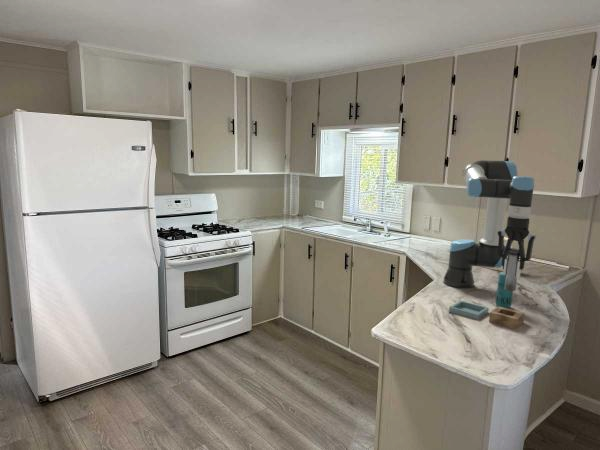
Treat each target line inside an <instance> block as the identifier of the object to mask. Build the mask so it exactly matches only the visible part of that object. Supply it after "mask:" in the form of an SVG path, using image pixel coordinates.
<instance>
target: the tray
mask: <svg viewBox="0 0 600 450" xmlns="http://www.w3.org/2000/svg"><path fill="white" fill-rule="evenodd" d="M489 311H490V310H489V307H487V306H483V305H481V304H476V303H471V302H468V301H464V300H459V301H457V302H456V303H454V304H452V305H451V306H449V309H448V314H452V313H453V314H454V315H455V314H456V315H460V316H462V317H466V318H471V319H474V320H480V319H481V318H482V317H483V316H485V315H487V314H488V313H489Z"/></svg>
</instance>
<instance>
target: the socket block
mask: <svg viewBox="0 0 600 450" xmlns="http://www.w3.org/2000/svg"><path fill="white" fill-rule="evenodd" d="M524 319H525V312H523V311H519V310H515V309H511V308H506V307H500V306H496V307H495V308H494V309H492V310H491V311H489V317H488V322H489V323H491V324H496V325H498V326H502V327H505V328H509V329H514V330H517V329H518V328H519V327H520V326H521V325H522V324H523V323H524Z"/></svg>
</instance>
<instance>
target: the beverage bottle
mask: <svg viewBox="0 0 600 450" xmlns="http://www.w3.org/2000/svg"><path fill="white" fill-rule="evenodd" d="M503 269H504V266H503ZM503 272H504V271H500V272H499V274H498V281H497V287H496V288H497V289H496V295H495V305H496V307H498V306H499V307H503V308H507V309H509V308H510V307H511V306H512V303H513V293H514V291H508V290H505V289H504V286H505V278H506V275H503Z"/></svg>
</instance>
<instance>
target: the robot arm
mask: <svg viewBox="0 0 600 450" xmlns="http://www.w3.org/2000/svg"><path fill="white" fill-rule="evenodd" d="M462 177H463V181H465V182H466V194H467V196H468V197H474V198H487V205H486V210H485V219H484V220H485V221H484V227H483V236H482V238H480V239H479V243H476V242H475V239H474V240H473V239H467V238H463V239H456V240H454V241H451V243H450V247H449V255H448V256H449V257H448V265H447V266H448V267H447V270H446V272H445V274H444V277H443V281H442V282H443V284H444V285H447V286H449V285H450V287H453V286H454V287H453V288H459V287H461V289H468V288H469V287H471V288H473V287H474V286H475V279H474V274H473V267H480V266H481V268H485V267H491V268H500V267H502V266H504V272H503V275H506V270H507V261H508V258H507V257H508V253H509V252H508V249H510V248H511V245H512V246H513V243H512V242H514V241H516V242H517V245H518V249H519V251H520V252H519V254H520V258H519V261H518V264H517V272H516V278H517V279H519V278H520V277H521V270H522V271H523V270H524V268H525V263H526V262H528V261H530V260H531V258H532V253H533V248H534V247H533V246H534V242H535V240H536V238H537V235H535V234H534V235H533V234H532V233H530V231H529V226H530V217H531V210H532V202H533V193H534V188H535V178H534V177H532V176H521V175H520V176H519V175H518V169H517V164H516V163H515V162H514V161H507V160H484V159H483V160H481V159H480V160H476V161H473V162H471V163H469V164H467V165H466V166H465V167H464V169H463V170H462ZM508 199H509V204H508V214H507V215H508V217H507V221H506V227H505V229H504V225H505V216H506V209H507V201H508ZM505 235H506V236H507V238H508V241H507V244H506V246H505V245H504V237H505ZM527 237H528V238H527ZM526 238H527V240H528V243H527V247H526V253H525V239H526Z"/></svg>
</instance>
